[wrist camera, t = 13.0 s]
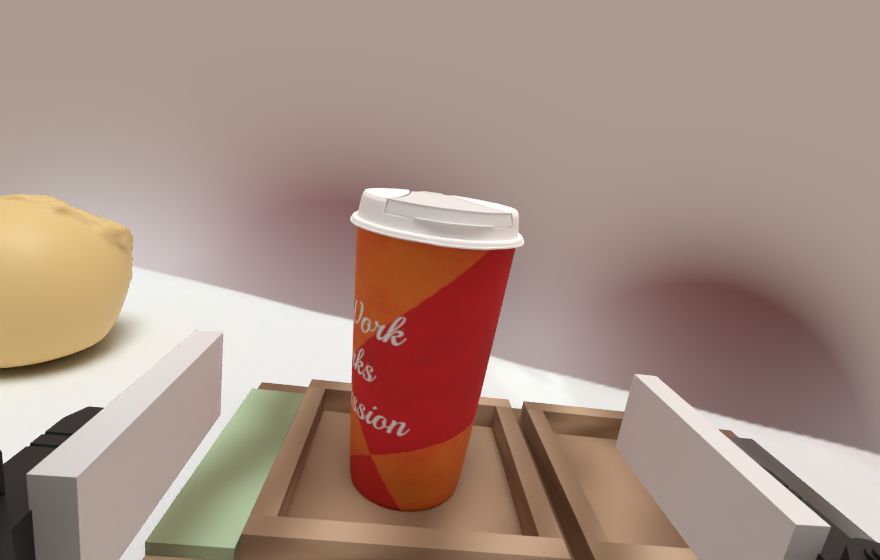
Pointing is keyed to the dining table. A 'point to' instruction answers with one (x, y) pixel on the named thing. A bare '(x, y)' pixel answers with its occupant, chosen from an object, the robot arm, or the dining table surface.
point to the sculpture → (58, 278)
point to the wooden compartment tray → (445, 526)
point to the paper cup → (422, 337)
